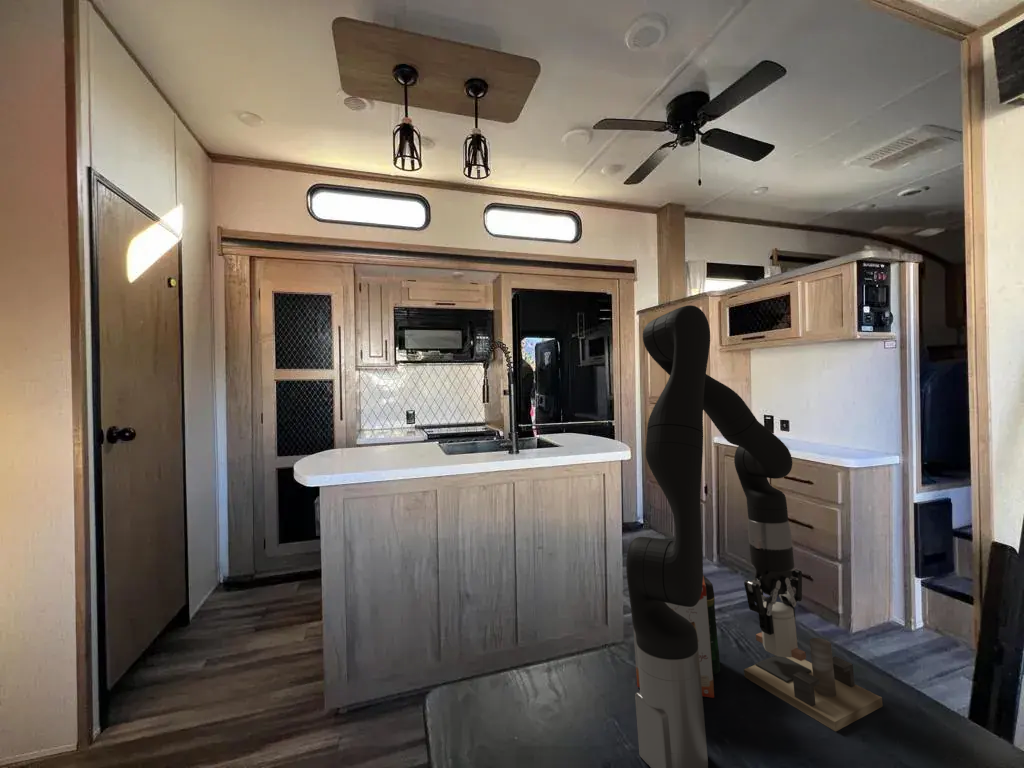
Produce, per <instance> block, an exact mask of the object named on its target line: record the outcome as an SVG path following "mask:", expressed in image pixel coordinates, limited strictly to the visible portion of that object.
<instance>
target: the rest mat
mask: <svg viewBox="0 0 1024 768" xmlns="http://www.w3.org/2000/svg"><path fill="white" fill-rule="evenodd" d="M754 665H755V666H757V667H759V668H761V669H763V670H764V671H766V672H768V673H770V674H772V675H773V676H775V677H777V678H779V679H781V680H782V681H784V682H786V683H788V682H791V681H793V674H796V673H798V672H800V671H804V672H806V673H808V674H809V673H811V672H812V671H811V670H810V669H808V668H806V667H804V666H802V665H800V664H798V663H796V662H794V661H792V660H790V659H788V658H786V657H780V656H776V655H773V656H771V657H767V658H765V659H763V660H761V661H758V662H755V664H754Z"/></svg>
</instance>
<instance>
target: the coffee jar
mask: <svg viewBox="0 0 1024 768" xmlns="http://www.w3.org/2000/svg"><path fill="white" fill-rule="evenodd" d="M703 577H704V581H705V585H706V595H707V608H708V620H709V633H710V646H711V660H712V672H713V676H714V675H716V674H719V673H720V671H721V662H720V661H721V660H720V651H719V642H718V641H719V640H718V632H717V631H718V630H717V620H716V607H715V603H716V602H715V592H714V585H713V583H712V582H711V581H710V580H709V579H708V577H706V576H705V575H704V574H703Z"/></svg>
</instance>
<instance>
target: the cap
mask: <svg viewBox="0 0 1024 768" xmlns="http://www.w3.org/2000/svg"><path fill="white" fill-rule="evenodd" d="M766 603H767V602H766V601H764V602H763V605H764V607H765V608H766ZM771 615H772V620H773V631H774V633H773V634H771V635H769V634H767V633H765V632H763V631H762V630H761V632H758V633H756V634H755V640H756V641H757V642H758V643H761V644H762V646H763V648H764V650H765V651H766V652H767V653H770V654H772V655H773V656H775V655H776V656H780V657H790V658H791V657H793V658H795V659H797V660H800V661H802V660H806V659H807V654H806V651H804V650H802V649H799V647H798V638H797V628H796V626H797V625H796V619H795V618H796V616H795V617H794V611H793V608H792V607H791V606H789V605H787V604H784V603H782V602H781V601H776V603H775V604H773V607H772V612H771Z"/></svg>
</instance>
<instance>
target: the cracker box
mask: <svg viewBox="0 0 1024 768" xmlns="http://www.w3.org/2000/svg"><path fill="white" fill-rule="evenodd" d="M665 603H666V602H665ZM666 604H667V605H668V606H669V607H670V608H671V609H672V610H674V611H675V612H676V613H678V614H679V615H681V616H683V617H684V618H686V619H687V620H688V621H689V622H691V623H692V625H693V626H694V627H695V629H696V632H697V638H698V650H699V662H700V674H701V686H702V697H705V698H706V697H707V698H711V699H714V698H715V690H714V689H715V687H714V686H715V685H714V675H713V672H712V660H711V646H710V633H709V620H708V608H707V595H706V585H705V581H704V577H703V586H702V592H701V597H700V599H699V601H698V603H697V604H696V605H695V606H693V607H685V606H680V605H675V604H671V603H666ZM632 628H633V629H632V630H633V643H634V656H635V658H634V659H635V671H636V672H635V673H636V683H637V684H636V686H637V687H638V688H640V684H639V670H638V655H637V642H636V633H635V631H634V627H632Z"/></svg>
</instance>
